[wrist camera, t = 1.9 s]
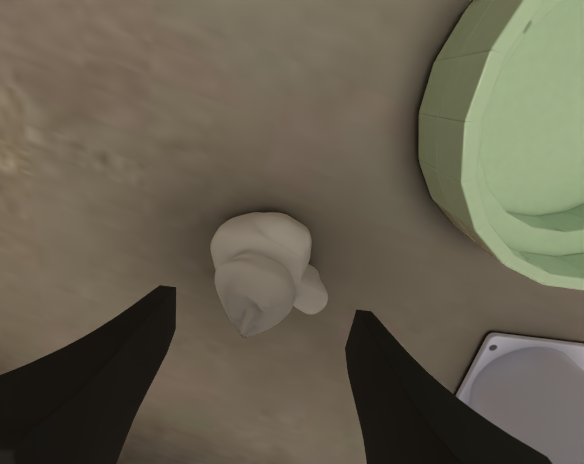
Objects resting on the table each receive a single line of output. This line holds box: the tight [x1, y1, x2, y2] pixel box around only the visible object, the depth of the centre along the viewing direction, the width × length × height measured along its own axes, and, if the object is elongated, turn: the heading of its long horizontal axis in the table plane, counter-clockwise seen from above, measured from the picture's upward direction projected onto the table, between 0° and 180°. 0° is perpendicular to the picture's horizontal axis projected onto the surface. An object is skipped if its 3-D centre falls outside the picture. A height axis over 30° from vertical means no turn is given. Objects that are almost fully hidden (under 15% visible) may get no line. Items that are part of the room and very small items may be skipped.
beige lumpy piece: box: [211, 212, 328, 338], centre depth 15 cm, size 5×7×8 cm
